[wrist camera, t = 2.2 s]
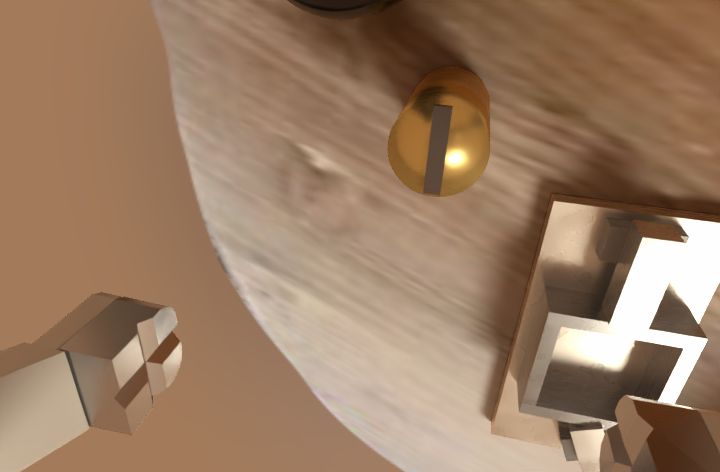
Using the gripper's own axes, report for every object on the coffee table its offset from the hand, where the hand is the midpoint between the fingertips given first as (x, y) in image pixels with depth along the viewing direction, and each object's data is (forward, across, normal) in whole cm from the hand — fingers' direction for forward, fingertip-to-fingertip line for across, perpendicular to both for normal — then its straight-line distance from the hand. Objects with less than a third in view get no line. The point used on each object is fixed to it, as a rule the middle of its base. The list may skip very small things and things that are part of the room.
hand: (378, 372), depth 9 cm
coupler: (+19, 0, 0) cm, 19 cm away
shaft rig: (+19, -10, +13) cm, 25 cm away
